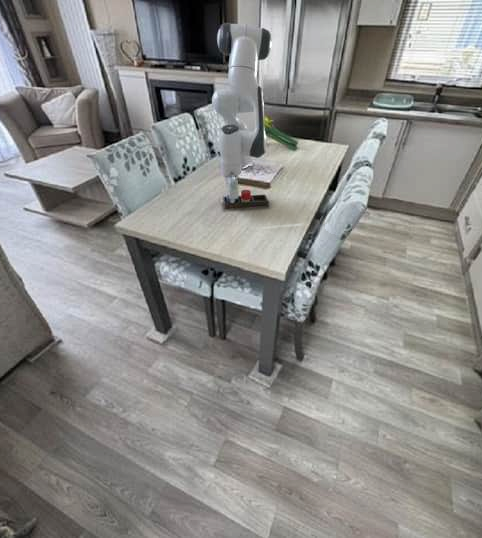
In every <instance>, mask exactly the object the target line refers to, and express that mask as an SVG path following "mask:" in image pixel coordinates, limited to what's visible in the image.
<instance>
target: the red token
mask: <svg viewBox="0 0 482 538" xmlns="http://www.w3.org/2000/svg"><path fill="white" fill-rule="evenodd" d="M251 195H252V191H251V190H250V189H242V190H241V191H240V196H241V198H242V199H243V200H249V199H250V198H251Z"/></svg>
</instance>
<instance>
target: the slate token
mask: <svg viewBox="0 0 482 538" xmlns="http://www.w3.org/2000/svg"><path fill="white" fill-rule="evenodd" d="M226 197H227V202H226V203H231V202H230V198H229V194H227V195H226ZM234 201H235V202H234V203H237V202H236V199H234Z"/></svg>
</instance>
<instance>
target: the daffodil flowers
mask: <svg viewBox="0 0 482 538" xmlns="http://www.w3.org/2000/svg"><path fill="white" fill-rule="evenodd" d="M274 121H275V119H268V116H265V129H266V139H267V141H269V140H274V141H276V142H277V143H279V144H281V145H283V146H285V147H287V148H289V149H290V150H293V151H295V150H296V149H297V146H298V145H299V142H300V140H299V139H297V138H295V137H293V136H291V135H288V134H286V133H284V132H281V131H280V130H278V129H277V128H276V127H275V126H274V124H273V122H274ZM267 132H268V133H267ZM267 147H268V144H267Z"/></svg>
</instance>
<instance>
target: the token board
mask: <svg viewBox="0 0 482 538" xmlns="http://www.w3.org/2000/svg"><path fill="white" fill-rule="evenodd" d="M222 202H223V207H224V210H231V209H234V210H235V209H247V208H248V209H249V208H264V207H269V199H268V197H267V194H251V198H250V202H241V195H238V198H237V199H236V203H227V196H222Z"/></svg>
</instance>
